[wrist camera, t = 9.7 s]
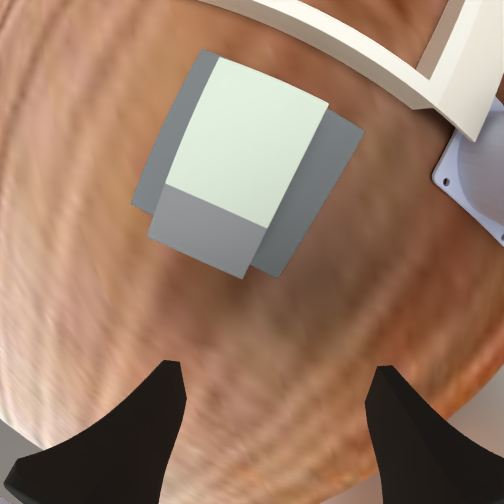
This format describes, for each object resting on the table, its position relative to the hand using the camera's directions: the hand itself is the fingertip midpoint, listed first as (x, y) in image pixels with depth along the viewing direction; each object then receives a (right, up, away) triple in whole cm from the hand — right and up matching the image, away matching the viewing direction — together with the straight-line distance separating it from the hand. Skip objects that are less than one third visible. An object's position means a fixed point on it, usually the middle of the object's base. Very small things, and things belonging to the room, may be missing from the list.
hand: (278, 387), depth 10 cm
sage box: (-1, +10, +6) cm, 12 cm away
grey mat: (-2, +10, +6) cm, 12 cm away
